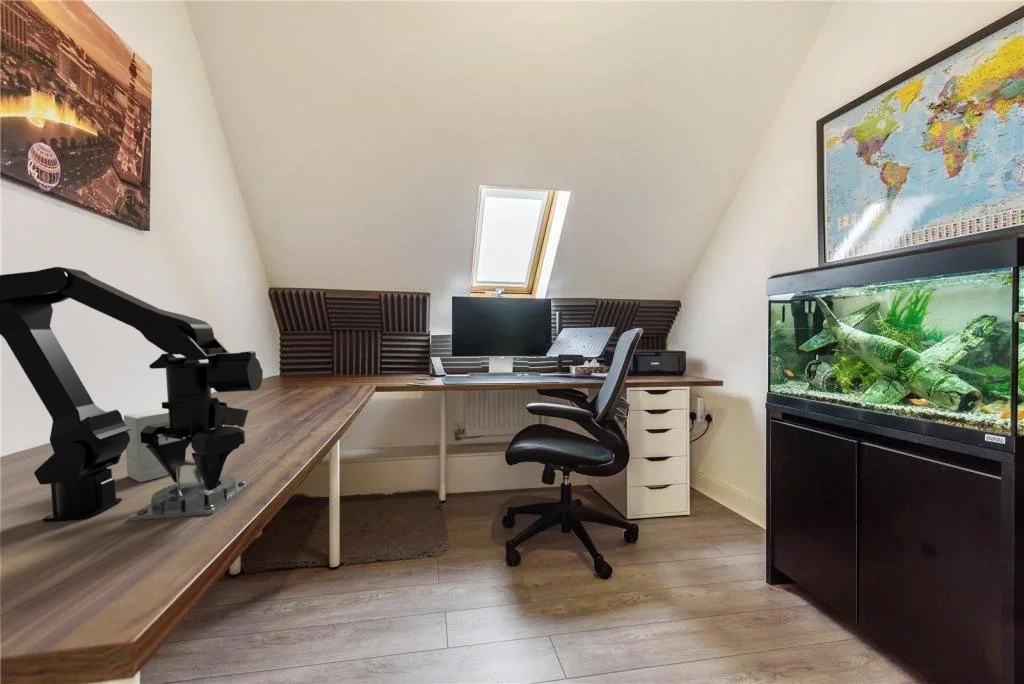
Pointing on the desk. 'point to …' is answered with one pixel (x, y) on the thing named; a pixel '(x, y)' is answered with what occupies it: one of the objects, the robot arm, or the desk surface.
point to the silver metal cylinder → (189, 479)
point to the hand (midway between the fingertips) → (195, 485)
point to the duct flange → (190, 501)
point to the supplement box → (143, 446)
